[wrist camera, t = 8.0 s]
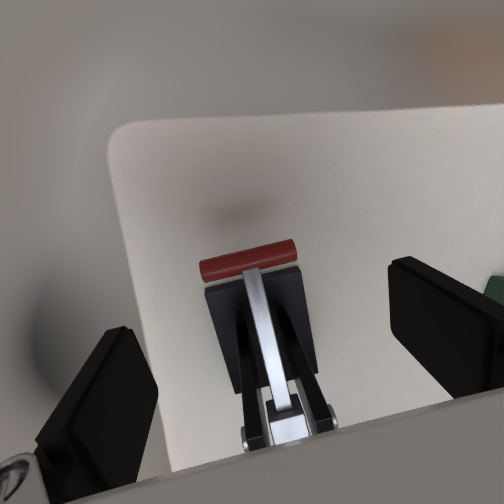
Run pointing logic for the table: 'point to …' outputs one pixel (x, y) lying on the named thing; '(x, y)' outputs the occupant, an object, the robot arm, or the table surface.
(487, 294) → the button box
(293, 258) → the lever
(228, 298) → the bracket
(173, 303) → the table surface
